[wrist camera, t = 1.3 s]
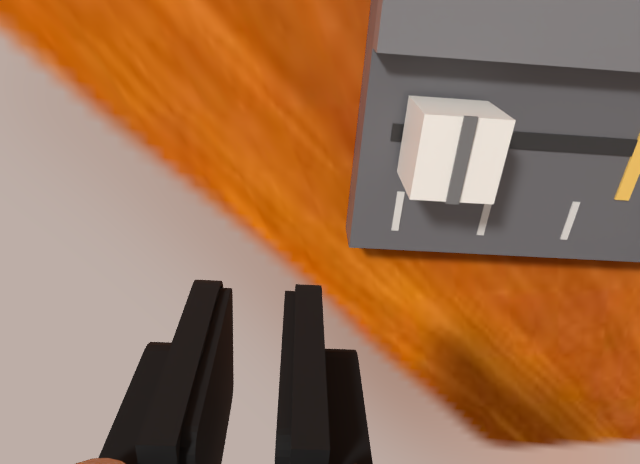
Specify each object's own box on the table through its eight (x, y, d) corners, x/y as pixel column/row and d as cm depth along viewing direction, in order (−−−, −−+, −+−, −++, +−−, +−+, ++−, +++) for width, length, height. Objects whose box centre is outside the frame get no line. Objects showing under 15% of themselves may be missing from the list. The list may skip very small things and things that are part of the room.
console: (755, 9, 25) (828, 15, 22) (650, 243, 32) (693, 277, 28) (373, -23, 24) (385, -22, 21) (345, 227, 31) (351, 260, 27)
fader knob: (488, 100, 24) (517, 120, 21) (470, 177, 26) (494, 206, 23) (408, 94, 24) (425, 113, 21) (396, 172, 26) (410, 201, 23)
